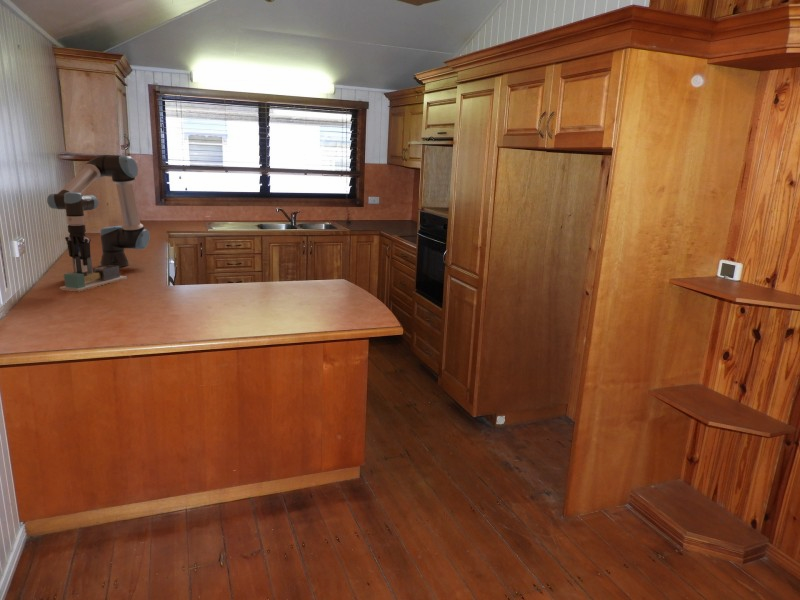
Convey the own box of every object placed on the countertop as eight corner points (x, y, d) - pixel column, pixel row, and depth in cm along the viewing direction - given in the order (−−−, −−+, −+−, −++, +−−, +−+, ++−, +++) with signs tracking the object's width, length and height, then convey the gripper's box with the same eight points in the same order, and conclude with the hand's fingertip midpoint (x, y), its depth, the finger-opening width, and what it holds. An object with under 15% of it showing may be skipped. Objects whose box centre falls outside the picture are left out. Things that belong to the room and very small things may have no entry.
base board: (109, 276, 307) (109, 274, 306) (127, 278, 304) (127, 276, 303) (59, 289, 277) (59, 287, 277) (79, 291, 274) (79, 289, 274)
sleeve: (110, 275, 304) (109, 264, 302) (120, 276, 302) (118, 265, 301) (94, 279, 294) (93, 268, 292) (104, 280, 292) (103, 269, 290)
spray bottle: (96, 276, 307) (91, 230, 301) (87, 279, 298) (82, 232, 292) (80, 275, 307) (75, 229, 301) (71, 279, 299) (65, 232, 292)
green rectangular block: (72, 285, 281) (70, 272, 280) (85, 286, 279) (83, 273, 277) (65, 286, 278) (63, 274, 276) (78, 288, 275) (77, 275, 274)
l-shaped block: (99, 276, 295) (97, 252, 291) (104, 277, 294) (101, 252, 290) (70, 284, 277) (67, 258, 274) (75, 284, 277) (72, 258, 273)
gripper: (56, 224, 274) (62, 271, 280) (83, 226, 269) (88, 274, 276) (69, 222, 281) (74, 268, 287) (95, 224, 276) (100, 271, 283)
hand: (81, 271), depth 281 cm, fingers closed on l-shaped block, 3 cm apart
